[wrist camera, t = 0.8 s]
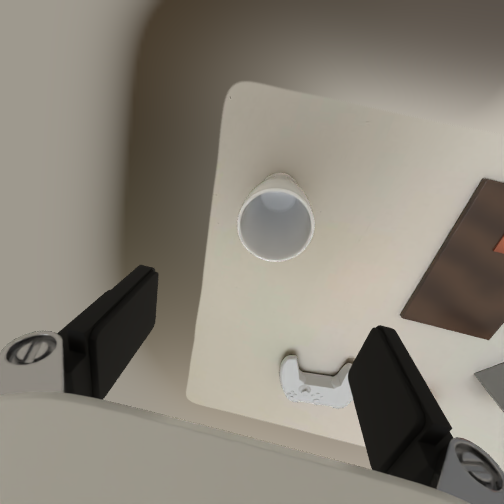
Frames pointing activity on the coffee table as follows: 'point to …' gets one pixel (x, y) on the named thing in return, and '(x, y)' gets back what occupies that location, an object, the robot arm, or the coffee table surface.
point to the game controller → (315, 385)
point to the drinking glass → (276, 219)
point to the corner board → (467, 271)
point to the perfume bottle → (493, 383)
